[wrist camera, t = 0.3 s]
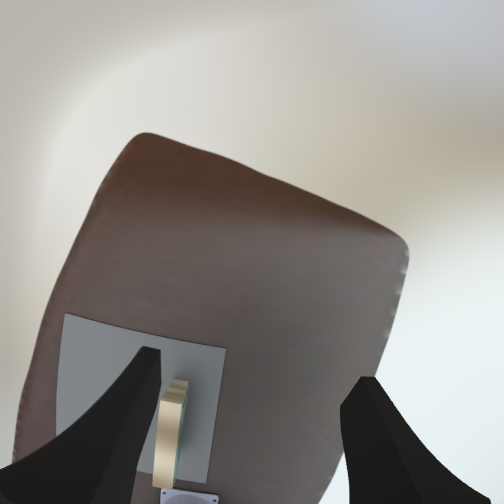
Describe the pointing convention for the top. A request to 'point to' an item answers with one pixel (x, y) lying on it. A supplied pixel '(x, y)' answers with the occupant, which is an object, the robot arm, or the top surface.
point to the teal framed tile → (170, 433)
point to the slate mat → (172, 367)
